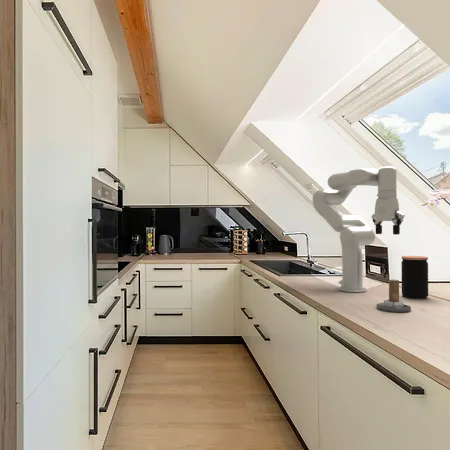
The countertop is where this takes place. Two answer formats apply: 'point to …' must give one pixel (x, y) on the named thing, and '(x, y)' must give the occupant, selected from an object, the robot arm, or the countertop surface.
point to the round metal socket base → (393, 307)
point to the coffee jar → (415, 277)
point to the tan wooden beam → (394, 290)
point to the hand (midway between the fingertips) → (387, 234)
